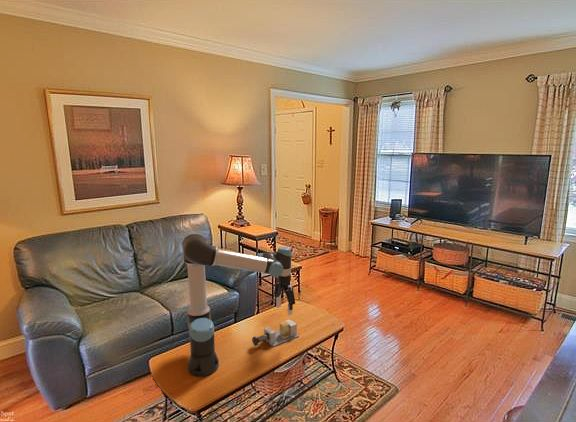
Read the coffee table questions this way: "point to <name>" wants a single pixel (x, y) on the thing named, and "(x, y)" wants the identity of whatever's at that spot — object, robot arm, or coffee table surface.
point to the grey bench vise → (277, 338)
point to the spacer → (284, 329)
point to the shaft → (260, 339)
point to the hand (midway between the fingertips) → (284, 310)
